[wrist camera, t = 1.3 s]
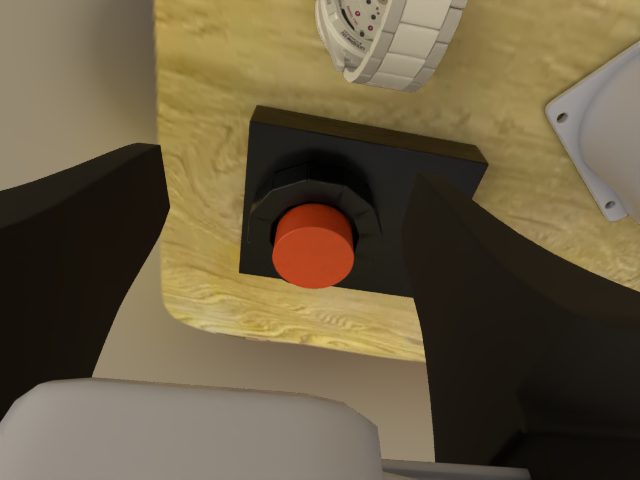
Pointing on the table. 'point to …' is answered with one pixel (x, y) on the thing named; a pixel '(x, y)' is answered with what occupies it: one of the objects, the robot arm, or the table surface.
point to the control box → (343, 187)
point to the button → (313, 246)
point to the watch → (387, 39)
